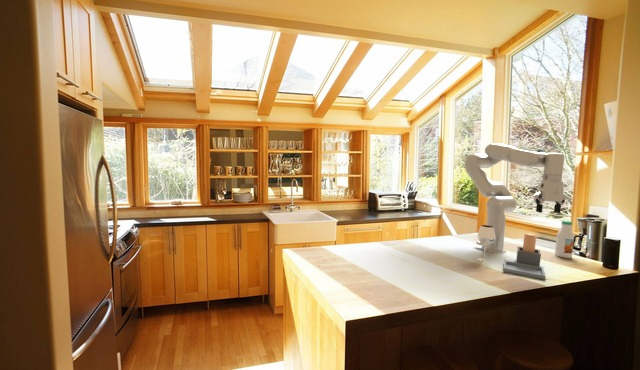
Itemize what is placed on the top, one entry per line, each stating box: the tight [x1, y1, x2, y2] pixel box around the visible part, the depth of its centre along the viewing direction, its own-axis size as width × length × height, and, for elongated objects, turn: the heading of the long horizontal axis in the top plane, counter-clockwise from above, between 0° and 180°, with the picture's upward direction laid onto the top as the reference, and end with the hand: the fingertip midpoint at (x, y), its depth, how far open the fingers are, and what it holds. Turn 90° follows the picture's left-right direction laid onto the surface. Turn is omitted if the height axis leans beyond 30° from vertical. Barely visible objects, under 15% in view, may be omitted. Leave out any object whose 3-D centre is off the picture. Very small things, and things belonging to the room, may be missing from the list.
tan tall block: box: [522, 233, 537, 253], centre depth 162 cm, size 5×5×15 cm
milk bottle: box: [554, 220, 575, 259], centre depth 181 cm, size 8×8×20 cm
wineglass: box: [477, 224, 495, 262], centre depth 166 cm, size 8×8×18 cm
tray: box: [502, 260, 546, 281], centre depth 152 cm, size 16×14×2 cm
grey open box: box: [515, 246, 542, 267], centre depth 163 cm, size 10×10×8 cm
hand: (547, 212), depth 161 cm, fingers open, 9 cm apart
